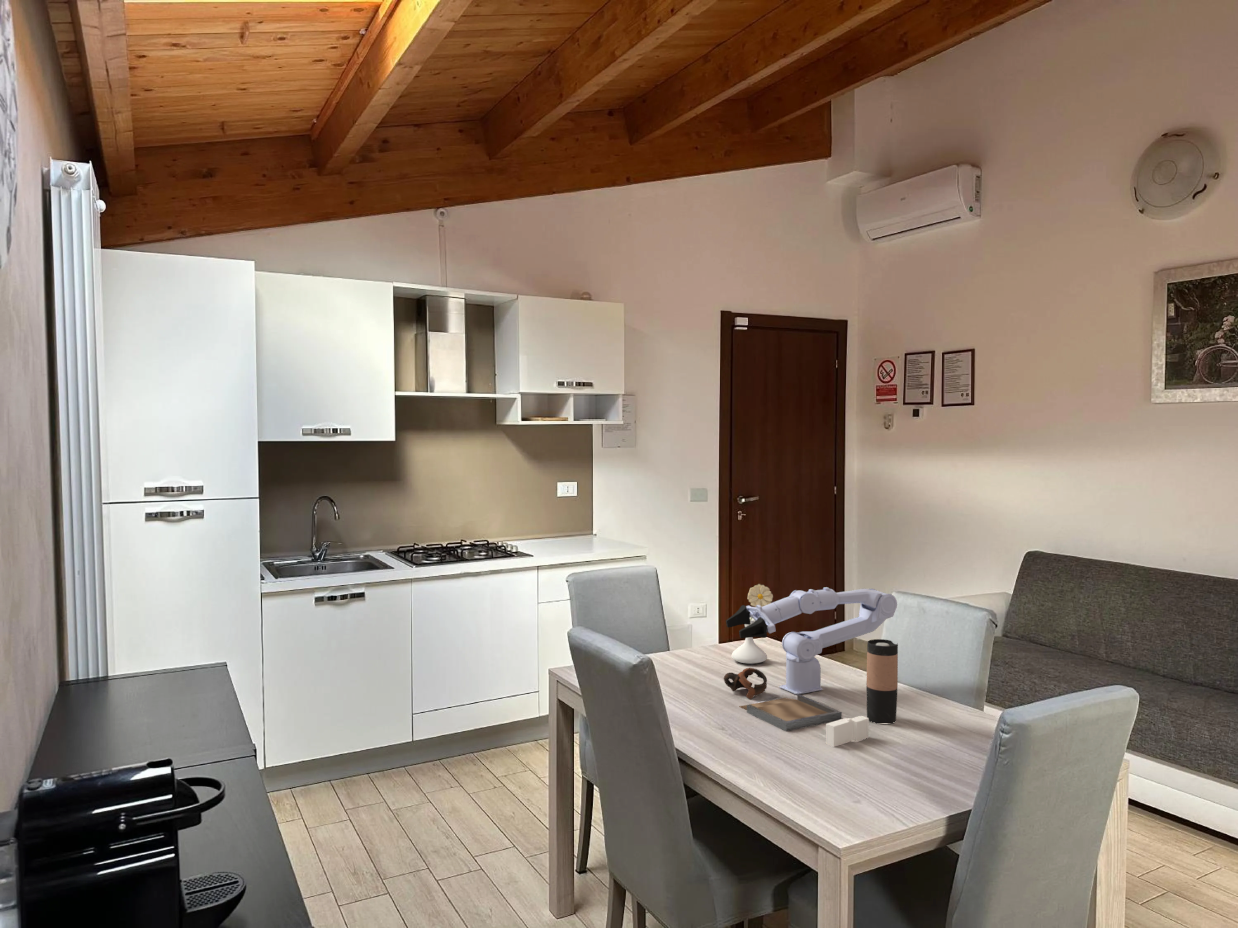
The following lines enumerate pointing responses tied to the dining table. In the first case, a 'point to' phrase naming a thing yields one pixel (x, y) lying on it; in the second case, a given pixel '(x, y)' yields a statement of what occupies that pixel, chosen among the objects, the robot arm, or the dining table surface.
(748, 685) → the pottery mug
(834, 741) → the white stepped block
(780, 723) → the curbs
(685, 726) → the dining table surface
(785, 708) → the brown flat board
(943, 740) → the dining table surface
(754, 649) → the flower in vase
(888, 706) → the travel mug
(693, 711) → the dining table surface
